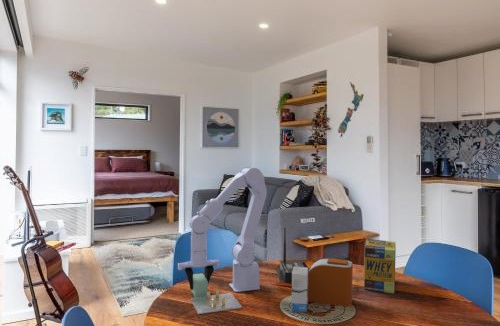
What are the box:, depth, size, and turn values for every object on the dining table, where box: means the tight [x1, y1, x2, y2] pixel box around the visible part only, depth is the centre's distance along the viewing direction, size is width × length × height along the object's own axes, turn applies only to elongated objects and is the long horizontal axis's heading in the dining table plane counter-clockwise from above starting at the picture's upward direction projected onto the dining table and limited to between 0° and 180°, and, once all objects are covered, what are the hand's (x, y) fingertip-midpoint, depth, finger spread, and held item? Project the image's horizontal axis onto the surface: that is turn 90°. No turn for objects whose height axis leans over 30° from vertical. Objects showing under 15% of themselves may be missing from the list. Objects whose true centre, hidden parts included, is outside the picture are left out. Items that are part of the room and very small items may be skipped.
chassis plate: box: [190, 292, 243, 315], centre depth 120 cm, size 14×12×1 cm
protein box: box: [363, 238, 397, 294], centre depth 139 cm, size 10×15×16 cm
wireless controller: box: [275, 227, 310, 283], centre depth 151 cm, size 20×14×17 cm
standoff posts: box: [207, 289, 225, 307], centre depth 120 cm, size 4×8×2 cm, turn 20°
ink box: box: [291, 266, 309, 313], centre depth 118 cm, size 8×5×12 cm, turn 168°
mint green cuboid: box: [190, 273, 209, 298], centre depth 130 cm, size 5×9×5 cm, turn 19°
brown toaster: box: [308, 257, 353, 308], centre depth 124 cm, size 15×8×14 cm, turn 71°
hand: (198, 287), depth 131 cm, fingers closed on mint green cuboid, 5 cm apart
